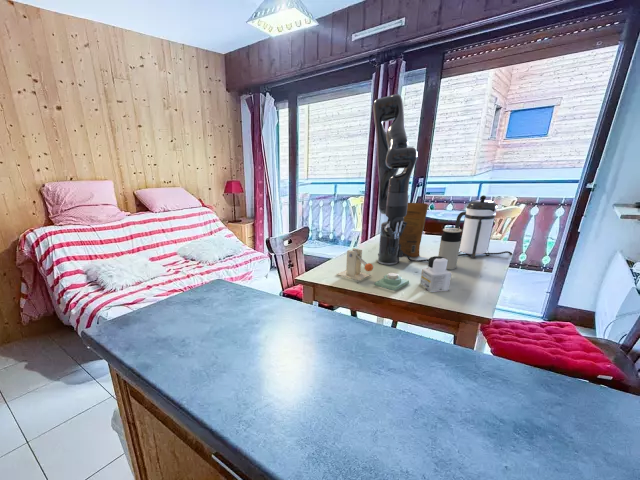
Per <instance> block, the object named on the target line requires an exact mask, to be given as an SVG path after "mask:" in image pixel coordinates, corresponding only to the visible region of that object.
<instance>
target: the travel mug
mask: <svg viewBox="0 0 640 480" xmlns="http://www.w3.org/2000/svg"><path fill="white" fill-rule="evenodd" d="M442 231H443V233H442V235H441V236H440V244H439V249H438V255H437V256H440V257H444V258H446V259H447V260H448V261H447V267H446V270H454V269H456V268H457V264H458V258H459V256H458V255H459V254H460V253H459V252H460V242H461V235H462V228H459V229H457V228H455V227H445V228H442ZM458 253H459V254H458Z"/></svg>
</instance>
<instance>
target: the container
mask: <svg viewBox="0 0 640 480" xmlns="http://www.w3.org/2000/svg"><path fill="white" fill-rule="evenodd" d="M428 259H429V261H427V262H428V263H427V267H422V268H421V274H420V275H421V276H420V283H419V284H420V285H422V286H424V287H425V290H426V291H428V292H429V293H434V292H435V293H436V292H448V291H449V290H450V283H451V277H452V272H451V271H449V270H448V269H446V267H447V261H448V260H447V259H446V258H444V257H440V256H438V255H435V256H430V257H429V258H428Z"/></svg>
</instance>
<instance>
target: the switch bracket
mask: <svg viewBox="0 0 640 480" xmlns="http://www.w3.org/2000/svg"><path fill="white" fill-rule="evenodd" d="M353 250H356V251H357V252H358V253H359V255H358V256H359V257H361V258H362V259H363V249H359V248H352V250H349V249H348V250H347V251H346V267H345V270H342V271H341V272H338V273H336V275H337V276H340V277H344V278H347V279H351V280H355V281H361V280H364V279H366V278H368V277H370V276H371V274H369V273H365V272H362V263H361V262H360V261H359V260H358V259H357V258H356V256H357V252H355V251H353Z"/></svg>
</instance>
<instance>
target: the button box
mask: <svg viewBox="0 0 640 480" xmlns="http://www.w3.org/2000/svg"><path fill="white" fill-rule="evenodd" d="M387 276H388V274H384V276H383V278H381V279H379V280H377V281H375V282H374V286H378V287H381V288H385V289H388V290H391V291H397V290H399V289H400V288H402V287H404V286H406V285H408V284H409V283H410V280H409V279H405V278H402V276H400V275H398V279H388V278H387Z"/></svg>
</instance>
